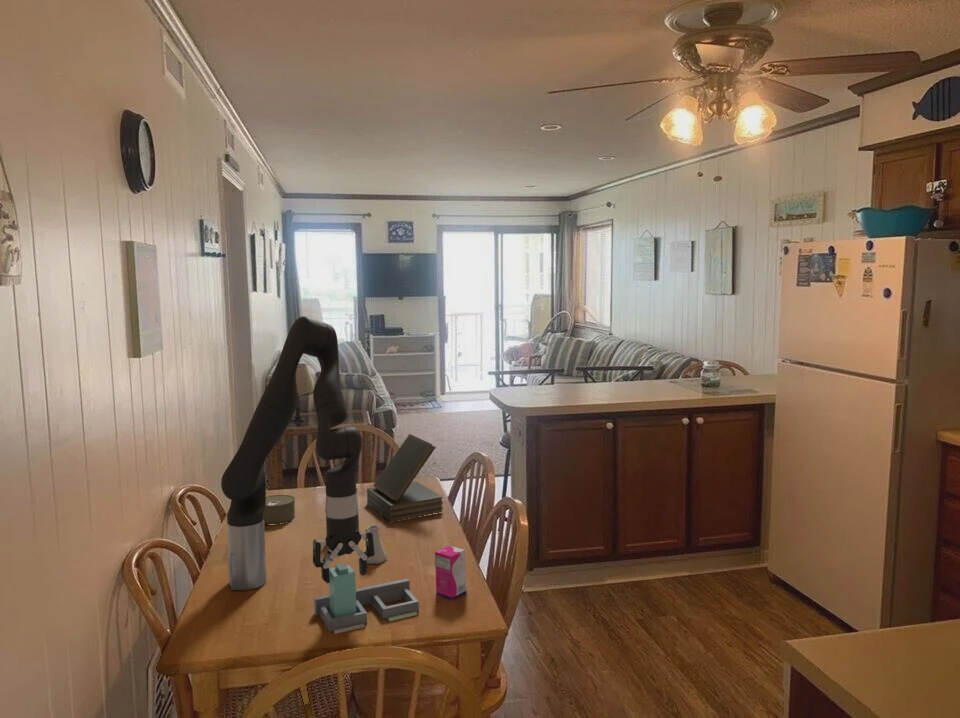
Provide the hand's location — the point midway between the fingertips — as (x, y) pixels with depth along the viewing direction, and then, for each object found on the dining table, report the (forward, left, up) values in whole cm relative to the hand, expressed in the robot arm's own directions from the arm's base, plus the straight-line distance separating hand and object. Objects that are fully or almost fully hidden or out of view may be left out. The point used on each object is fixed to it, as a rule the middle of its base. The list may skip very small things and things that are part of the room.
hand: (345, 578), depth 162 cm
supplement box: (+28, +1, -10) cm, 30 cm away
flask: (+17, +31, -10) cm, 36 cm away
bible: (+40, +71, -11) cm, 82 cm away
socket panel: (+6, 0, -10) cm, 11 cm away
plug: (-1, 0, -10) cm, 10 cm away
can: (-2, +80, -10) cm, 81 cm away
